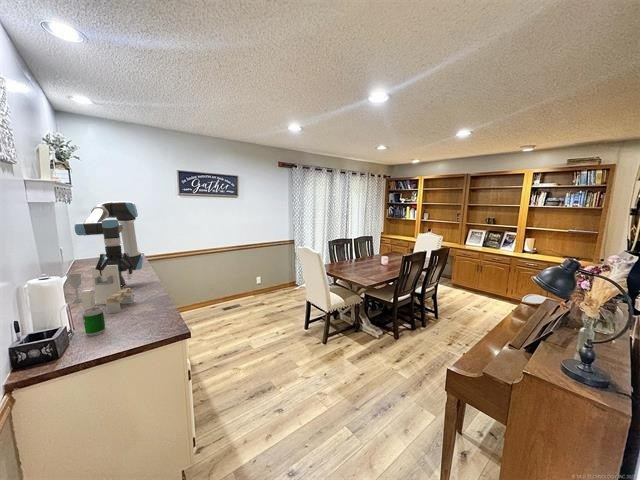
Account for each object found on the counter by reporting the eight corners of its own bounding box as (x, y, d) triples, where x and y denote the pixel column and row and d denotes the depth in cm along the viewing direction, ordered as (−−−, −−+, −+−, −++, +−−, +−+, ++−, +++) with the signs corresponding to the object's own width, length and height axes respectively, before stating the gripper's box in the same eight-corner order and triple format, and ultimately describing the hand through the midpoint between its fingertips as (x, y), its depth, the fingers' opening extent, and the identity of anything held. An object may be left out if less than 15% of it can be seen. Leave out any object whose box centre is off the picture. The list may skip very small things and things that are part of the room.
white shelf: (97, 302, 170) (92, 266, 166) (122, 300, 172) (117, 264, 169) (74, 315, 150) (68, 274, 146) (102, 313, 152) (96, 273, 149)
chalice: (67, 304, 167) (63, 276, 165) (74, 300, 174) (70, 273, 171) (81, 302, 169) (77, 275, 167) (87, 299, 176) (83, 272, 173)
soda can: (109, 329, 134) (106, 306, 132) (97, 336, 126) (94, 312, 124) (94, 329, 133) (91, 306, 132) (81, 337, 126) (77, 313, 124)
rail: (124, 294, 169) (123, 288, 169) (131, 294, 170) (130, 288, 170) (107, 305, 152) (106, 298, 151) (115, 304, 153) (114, 297, 152)
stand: (123, 302, 170) (122, 294, 169) (133, 301, 171) (132, 294, 170) (106, 313, 153) (105, 305, 152) (118, 312, 154) (117, 304, 153)
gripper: (84, 247, 150) (89, 283, 153) (133, 245, 155) (137, 280, 158) (93, 245, 158) (98, 279, 161) (139, 243, 162) (143, 277, 165)
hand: (117, 280), depth 159 cm, fingers open, 13 cm apart
